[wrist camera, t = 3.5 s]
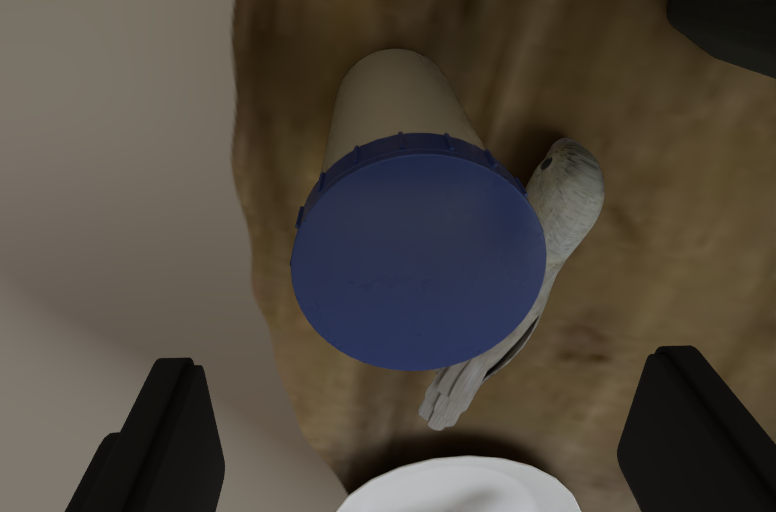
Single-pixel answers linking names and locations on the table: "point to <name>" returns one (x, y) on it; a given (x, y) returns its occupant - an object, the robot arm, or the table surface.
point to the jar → (394, 103)
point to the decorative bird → (562, 235)
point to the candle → (730, 30)
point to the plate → (462, 488)
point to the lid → (417, 252)
